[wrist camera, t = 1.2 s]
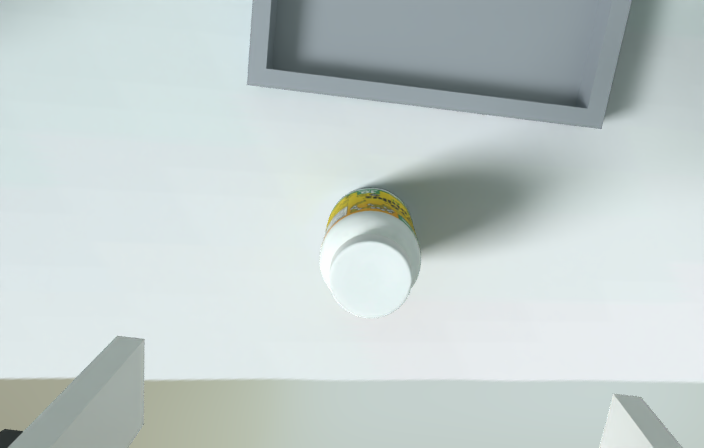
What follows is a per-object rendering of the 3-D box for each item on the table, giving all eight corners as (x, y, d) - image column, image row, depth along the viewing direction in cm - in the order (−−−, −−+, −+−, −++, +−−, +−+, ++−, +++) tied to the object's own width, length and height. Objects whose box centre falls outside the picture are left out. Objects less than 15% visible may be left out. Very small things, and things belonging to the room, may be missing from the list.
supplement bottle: (312, 234, 36) (291, 290, 27) (361, 168, 35) (357, 203, 25) (379, 281, 37) (380, 351, 27) (429, 218, 35) (449, 269, 26)
